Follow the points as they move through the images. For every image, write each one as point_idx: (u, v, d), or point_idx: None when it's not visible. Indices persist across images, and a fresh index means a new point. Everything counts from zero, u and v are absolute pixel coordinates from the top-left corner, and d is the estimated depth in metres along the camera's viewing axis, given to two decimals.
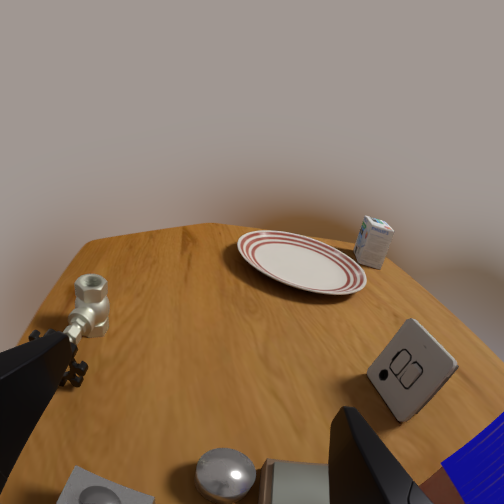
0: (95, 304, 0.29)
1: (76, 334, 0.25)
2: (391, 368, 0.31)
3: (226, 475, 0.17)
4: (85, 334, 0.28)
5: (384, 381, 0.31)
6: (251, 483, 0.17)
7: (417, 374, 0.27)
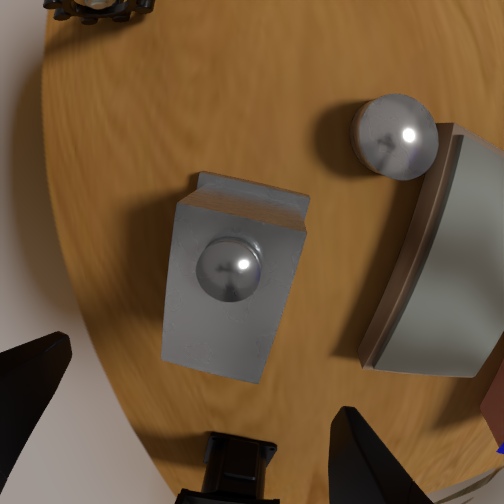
0: None
1: None
2: None
3: (400, 144, 0.13)
4: None
5: None
6: (429, 163, 0.13)
7: None
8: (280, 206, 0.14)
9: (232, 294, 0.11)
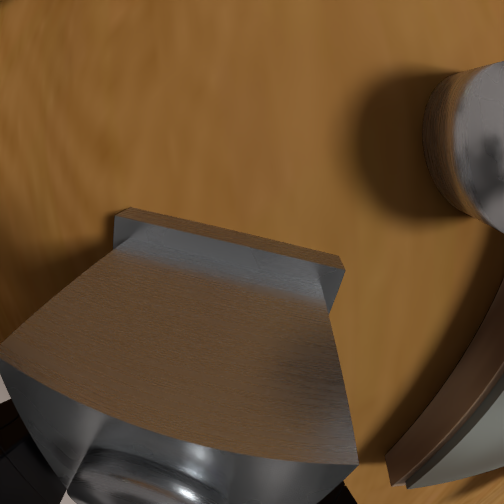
0: None
1: None
2: None
3: None
4: None
5: None
6: None
7: None
8: (281, 307, 0.06)
9: None
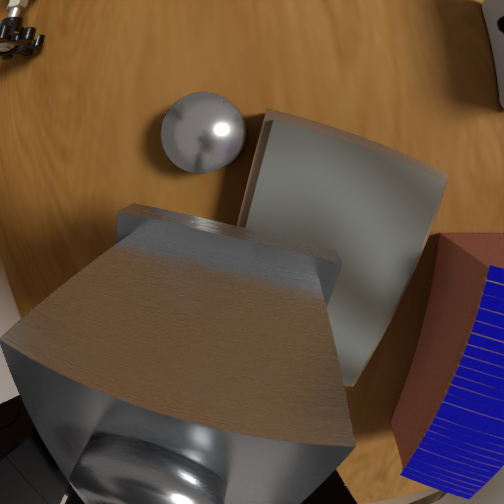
0: None
1: None
2: None
3: (199, 140, 0.15)
4: None
5: (503, 35, 0.10)
6: (232, 154, 0.15)
7: None
8: (280, 298, 0.06)
9: None
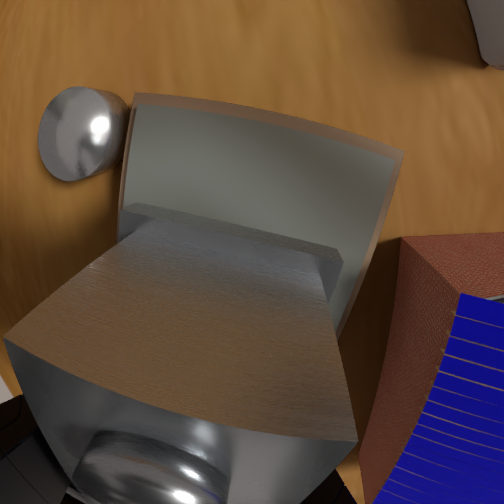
0: None
1: None
2: None
3: (69, 142, 0.11)
4: None
5: None
6: (100, 153, 0.11)
7: None
8: (282, 296, 0.06)
9: None
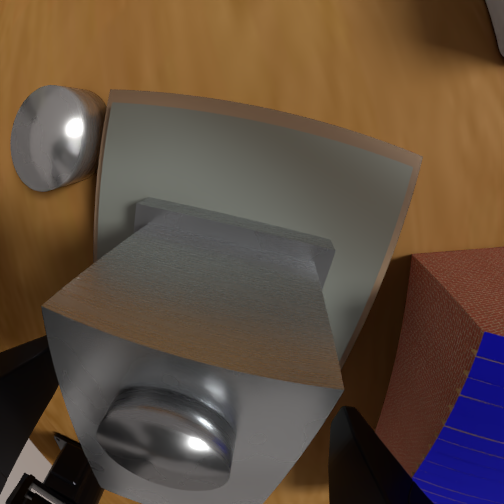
0: None
1: None
2: None
3: (41, 148, 0.09)
4: None
5: None
6: (73, 160, 0.09)
7: None
8: (281, 277, 0.07)
9: (176, 483, 0.04)
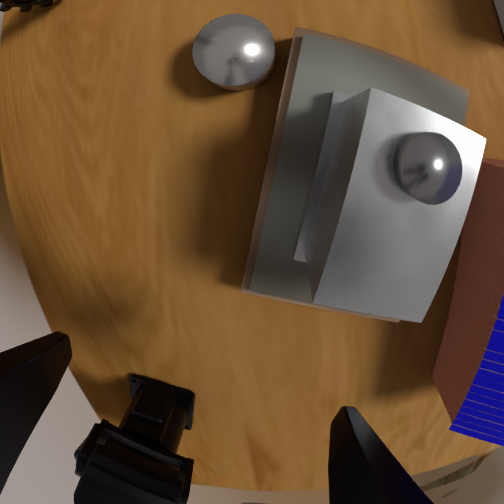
0: None
1: None
2: None
3: (231, 54, 0.13)
4: None
5: None
6: (266, 65, 0.14)
7: None
8: None
9: (435, 195, 0.08)
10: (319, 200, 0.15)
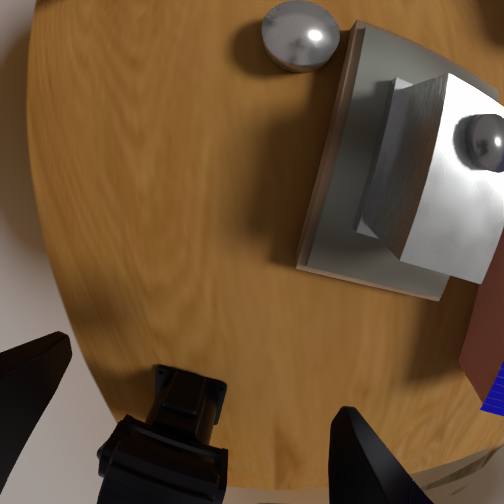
0: None
1: None
2: None
3: (300, 36, 0.13)
4: None
5: None
6: (332, 50, 0.14)
7: None
8: None
9: (498, 164, 0.08)
10: (383, 175, 0.15)
